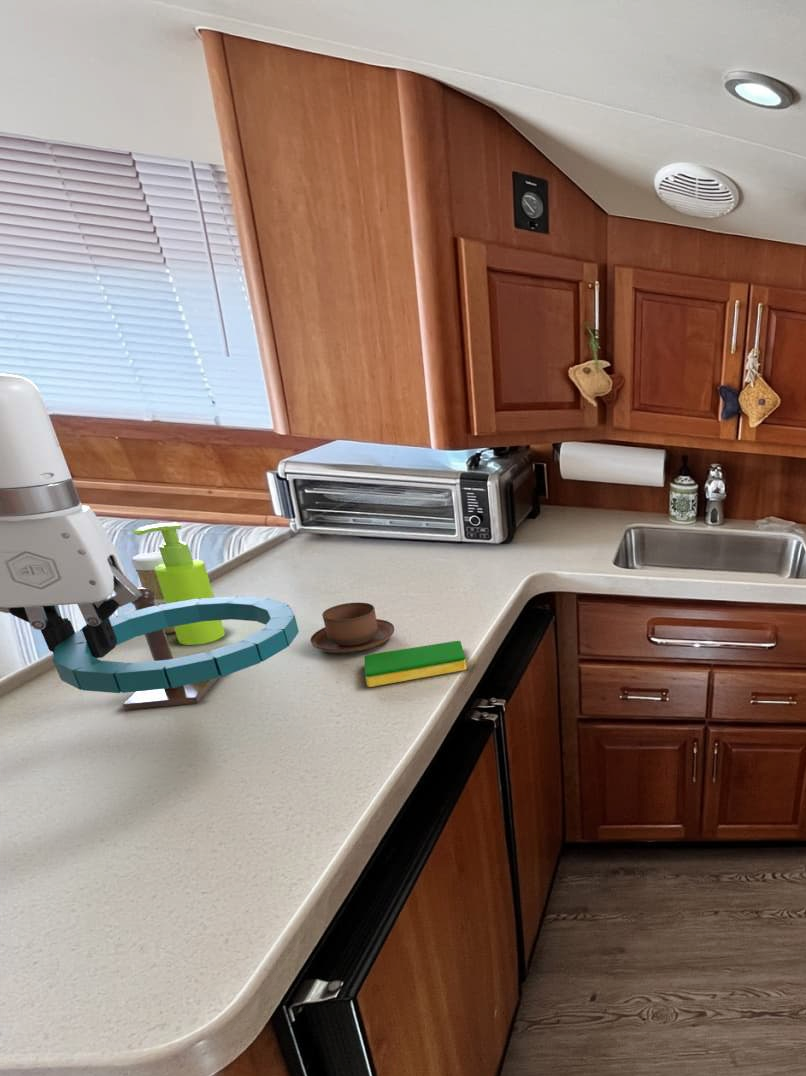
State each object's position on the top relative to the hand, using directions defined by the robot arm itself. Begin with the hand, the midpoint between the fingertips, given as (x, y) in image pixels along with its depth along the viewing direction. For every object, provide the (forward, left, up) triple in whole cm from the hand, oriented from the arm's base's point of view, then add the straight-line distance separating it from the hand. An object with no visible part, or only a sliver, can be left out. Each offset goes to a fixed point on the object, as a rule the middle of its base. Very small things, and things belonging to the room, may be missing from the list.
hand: (87, 652), depth 73 cm
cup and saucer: (+18, +29, -15) cm, 38 cm away
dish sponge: (+29, +17, -15) cm, 37 cm away
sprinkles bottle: (-11, +41, -15) cm, 45 cm away
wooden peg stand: (-2, +17, -15) cm, 23 cm away
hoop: (+9, 0, 0) cm, 9 cm away
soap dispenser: (-6, +36, -15) cm, 40 cm away
